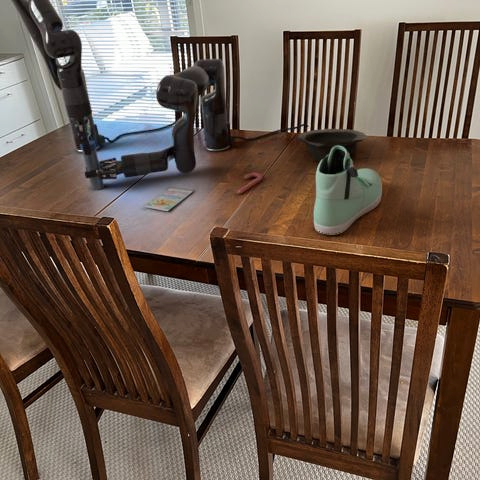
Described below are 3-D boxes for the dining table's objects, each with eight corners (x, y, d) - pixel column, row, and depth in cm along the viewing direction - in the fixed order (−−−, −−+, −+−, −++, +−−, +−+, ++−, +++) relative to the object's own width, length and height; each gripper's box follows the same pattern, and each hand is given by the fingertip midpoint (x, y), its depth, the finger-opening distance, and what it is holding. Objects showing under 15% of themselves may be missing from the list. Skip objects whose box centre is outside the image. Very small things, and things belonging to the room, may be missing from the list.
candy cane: (225, 192, 154) (224, 187, 153) (251, 174, 164) (250, 170, 163) (240, 195, 151) (240, 191, 150) (265, 177, 161) (265, 173, 160)
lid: (87, 151, 154) (85, 146, 153) (78, 149, 157) (77, 144, 156) (99, 146, 157) (97, 141, 156) (90, 144, 160) (89, 139, 159)
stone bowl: (324, 173, 160) (323, 146, 156) (284, 156, 180) (283, 132, 176) (382, 155, 169) (382, 129, 165) (338, 140, 189) (337, 117, 185)
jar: (89, 187, 165) (78, 145, 157) (100, 183, 167) (90, 141, 159) (95, 191, 162) (85, 148, 154) (106, 186, 164) (97, 144, 156)
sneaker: (389, 187, 148) (396, 123, 138) (356, 242, 123) (361, 168, 112) (346, 181, 154) (350, 119, 144) (306, 232, 129) (307, 161, 118)
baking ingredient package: (143, 206, 148) (170, 186, 159) (143, 207, 148) (170, 188, 159) (167, 210, 144) (192, 190, 156) (167, 211, 144) (193, 191, 156)
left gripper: (66, 96, 154) (78, 145, 163) (62, 108, 142) (76, 159, 151) (89, 93, 156) (101, 141, 164) (88, 104, 144) (100, 156, 152)
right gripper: (134, 147, 167) (84, 154, 165) (135, 162, 155) (81, 169, 153) (138, 167, 171) (89, 174, 169) (139, 183, 159) (87, 191, 157)
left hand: (89, 150), depth 157 cm, fingers open, 7 cm apart
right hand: (85, 172), depth 161 cm, fingers closed on jar, 4 cm apart
